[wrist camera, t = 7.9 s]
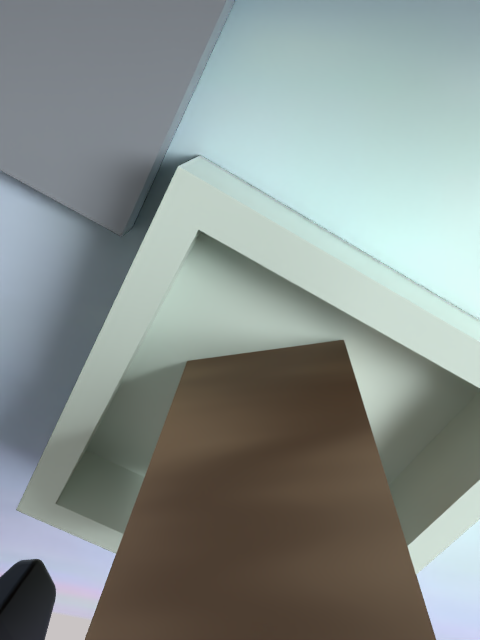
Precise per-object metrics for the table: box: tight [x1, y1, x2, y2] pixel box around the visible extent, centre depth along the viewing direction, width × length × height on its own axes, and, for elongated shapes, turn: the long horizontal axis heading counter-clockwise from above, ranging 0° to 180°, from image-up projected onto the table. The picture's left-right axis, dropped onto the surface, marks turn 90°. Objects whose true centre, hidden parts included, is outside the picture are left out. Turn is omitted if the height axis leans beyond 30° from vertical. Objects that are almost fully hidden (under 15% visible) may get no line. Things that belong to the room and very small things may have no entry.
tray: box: [16, 155, 480, 574], centre depth 11 cm, size 10×10×2 cm
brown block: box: [85, 340, 436, 640], centre depth 9 cm, size 4×4×7 cm
